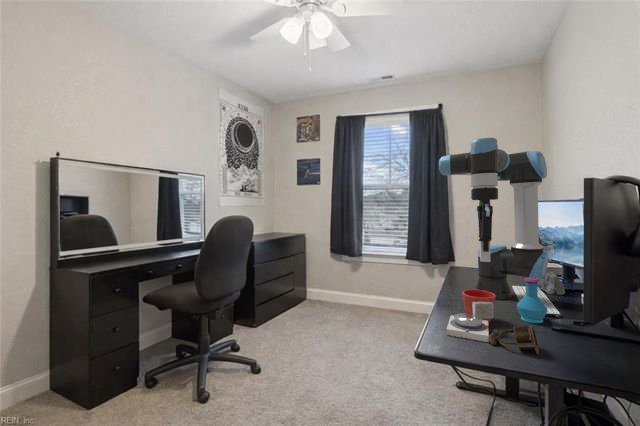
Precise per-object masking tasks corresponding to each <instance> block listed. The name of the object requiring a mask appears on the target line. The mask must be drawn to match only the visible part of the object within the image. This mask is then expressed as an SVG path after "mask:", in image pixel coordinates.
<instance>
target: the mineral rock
mask: <svg viewBox="0 0 640 426" xmlns="http://www.w3.org/2000/svg"><path fill="white" fill-rule="evenodd" d="M538 280H539V282H537V283H538V289H540V290H542V291H543V292H545V293H547V294H549V295H553V296H554V295H555V296H556V295H557V296H562V295H565V294H566V291H565V285H564V284H563V283H562V280H561V278H559V277H558V275H557V274H555V273H554V272H553V271H549V272H547V273H546V272H545V275H544V276H543V277H542V278H539V279H538Z"/></svg>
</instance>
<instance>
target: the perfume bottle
mask: <svg viewBox="0 0 640 426" xmlns="http://www.w3.org/2000/svg"><path fill="white" fill-rule="evenodd" d="M539 280H540V279H538V278H529V277H524V279H523V281H524V283H525V295H524V296H523V297H522V298H521V300H519V301H518V302H517V303H516V308H517V311H518V313H519V315H520V316H521V317H520V318H521V320H522V321H524V322H528V323H532V324H542V323H544V319H545V318H546V316H547V312H548V308H547V306H546V305H545V304H544V303H543V301H542V300H541V299H540V298H539V296H538V295H539V294H538V289H539V288H538V282H539Z"/></svg>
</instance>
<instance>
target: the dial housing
mask: <svg viewBox="0 0 640 426" xmlns="http://www.w3.org/2000/svg"><path fill="white" fill-rule="evenodd" d="M489 329H490V328H489V322H488V321H487V320H482V327H480V328H465V327H461V326H459V325H457V324H455V322H454V315H450V317H449V320H448V324H447V325H446V336H449V335H450V337H455V336H456V338H461V337H462V339H466V338H467V340H473V341H479V342H485V343H490V341H489V335H490V334H489Z"/></svg>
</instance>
